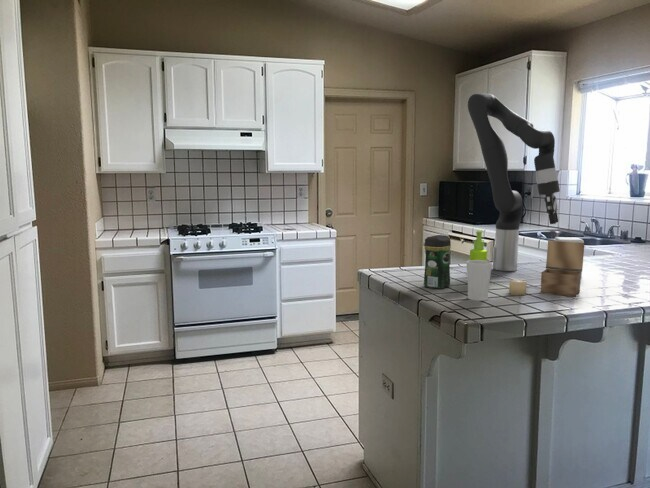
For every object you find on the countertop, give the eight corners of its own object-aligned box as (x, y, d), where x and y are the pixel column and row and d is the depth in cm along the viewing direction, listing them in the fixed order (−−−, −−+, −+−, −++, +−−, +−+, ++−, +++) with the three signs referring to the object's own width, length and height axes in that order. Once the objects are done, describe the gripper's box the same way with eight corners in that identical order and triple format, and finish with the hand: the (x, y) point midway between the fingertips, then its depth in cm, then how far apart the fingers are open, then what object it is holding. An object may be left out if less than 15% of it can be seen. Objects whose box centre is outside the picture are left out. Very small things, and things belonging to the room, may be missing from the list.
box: (540, 292, 182) (541, 272, 181) (545, 288, 190) (546, 268, 189) (575, 296, 176) (577, 275, 176) (579, 291, 184) (580, 271, 183)
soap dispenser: (486, 284, 196) (488, 230, 193) (485, 288, 189) (487, 232, 187) (469, 283, 198) (471, 229, 195) (468, 287, 191) (470, 231, 189)
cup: (461, 295, 178) (463, 260, 176) (485, 295, 179) (486, 259, 177) (470, 301, 170) (471, 264, 169) (494, 301, 171) (496, 263, 169)
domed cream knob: (507, 293, 181) (507, 281, 181) (511, 290, 186) (511, 279, 185) (524, 295, 178) (524, 283, 178) (527, 292, 183) (528, 280, 182)
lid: (547, 240, 189) (548, 240, 189) (545, 268, 189) (546, 268, 190) (584, 242, 182) (584, 242, 183) (581, 271, 182) (582, 271, 183)
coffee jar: (433, 283, 199) (435, 233, 196) (453, 286, 193) (454, 234, 191) (419, 287, 192) (421, 235, 189) (439, 290, 186) (440, 237, 184)
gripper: (539, 183, 213) (546, 223, 213) (534, 183, 201) (541, 225, 201) (559, 179, 209) (566, 220, 210) (556, 179, 197) (563, 222, 197)
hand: (554, 223), depth 205 cm, fingers open, 8 cm apart
